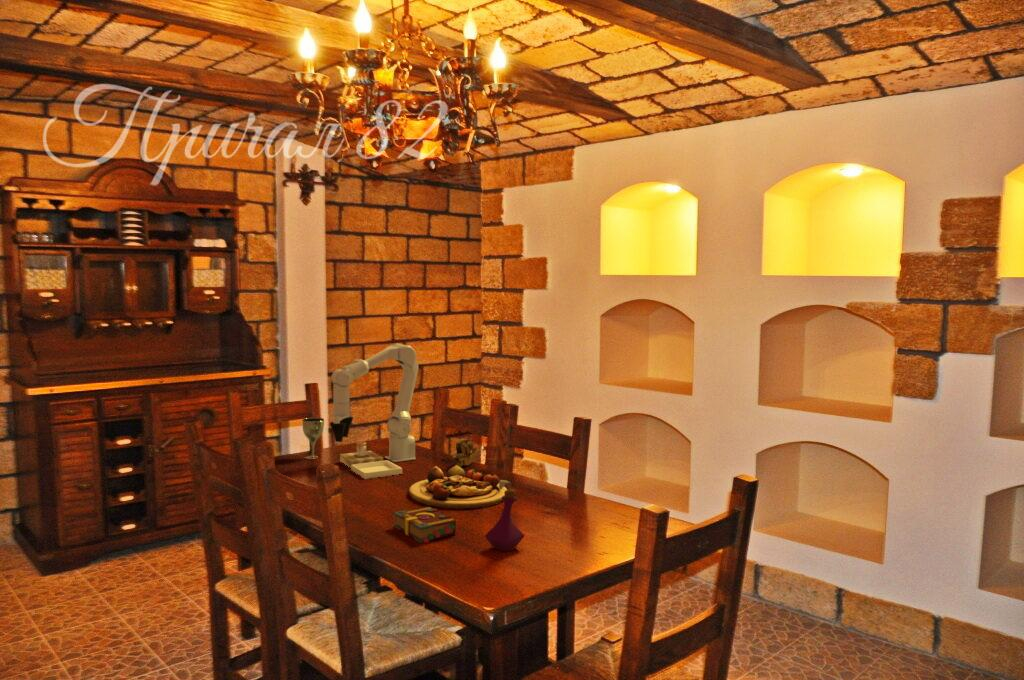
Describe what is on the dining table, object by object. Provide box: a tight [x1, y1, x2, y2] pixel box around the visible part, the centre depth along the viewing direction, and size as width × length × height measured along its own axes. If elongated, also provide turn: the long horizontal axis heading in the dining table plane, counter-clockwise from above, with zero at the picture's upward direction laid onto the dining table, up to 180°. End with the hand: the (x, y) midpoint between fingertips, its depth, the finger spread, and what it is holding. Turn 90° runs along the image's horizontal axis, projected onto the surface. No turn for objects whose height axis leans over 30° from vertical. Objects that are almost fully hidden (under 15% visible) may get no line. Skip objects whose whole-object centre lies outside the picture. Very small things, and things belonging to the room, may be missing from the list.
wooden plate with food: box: [408, 465, 508, 510], centre depth 236 cm, size 32×32×8 cm
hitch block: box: [339, 450, 384, 469], centre depth 272 cm, size 12×12×3 cm
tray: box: [350, 459, 403, 480], centre depth 260 cm, size 14×13×2 cm
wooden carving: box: [452, 438, 478, 468], centre depth 273 cm, size 16×5×10 cm, turn 162°
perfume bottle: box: [484, 479, 525, 552], centre depth 190 cm, size 8×8×18 cm
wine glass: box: [301, 417, 325, 459], centre depth 277 cm, size 8×8×15 cm
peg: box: [356, 441, 368, 458], centre depth 271 cm, size 4×4×8 cm
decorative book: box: [393, 506, 457, 544], centre depth 201 cm, size 11×16×5 cm
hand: (341, 439), depth 267 cm, fingers open, 7 cm apart
